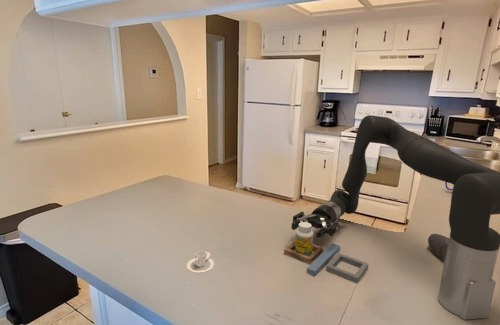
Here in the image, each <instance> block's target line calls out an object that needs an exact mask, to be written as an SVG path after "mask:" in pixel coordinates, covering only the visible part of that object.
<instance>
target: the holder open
mask: <svg viewBox="0 0 500 325" xmlns="http://www.w3.org/2000/svg"><path fill="white" fill-rule="evenodd" d="M340 261H342V262H344V263H347V264H350V265H352V266H355V267H357V268H359V269H358V270H357V272H355V273H353V272H349V271H348V270H344V269H342V268H340V267H337V265H338V264H339V263H340ZM368 268H369V262H366V261H362V260H360V259H357V258H354V257H351V256H349V255H346V254H343V253H340V252H338V253H337V254H336V255H335V256H334V257H333V258H332V259H331V260H330V261H329V262H328V263H327V264H326V265H325V271H326V272H329V273H331V274H333V275H336V276H339V277H341V278H344V279H347V281H352V282H353V283H355V284H358V283H359V282H360V280H361V279H362V277H364V275H365V273H366V272H367V270H368Z"/></svg>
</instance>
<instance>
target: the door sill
mask: <svg viewBox="0 0 500 325" xmlns="http://www.w3.org/2000/svg"><path fill="white" fill-rule="evenodd" d="M340 250H341V245H340V244H339V245H338V244H336V243H331V244H330V246H329V247H327V249H325V250H323V252H322V253H321V254H320V255H319V256H318V257H317V258H316V259H315V260H314V261H313V262H312V263H310V264H309V266H308V267H307V268H306V274H309V275H311V276H314V277H315V276H317V275H318V273H320V272H321V270H322V269H323V268H324V267H326V266H327V265H328V264H329V263H330V262H331V261H332V260H333V259H334V258H335V256H336V255H337V254H338V253H340Z"/></svg>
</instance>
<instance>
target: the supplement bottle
mask: <svg viewBox="0 0 500 325" xmlns="http://www.w3.org/2000/svg"><path fill="white" fill-rule="evenodd" d="M312 228H313V227H312V225H311V224H310V223H307V221H306V222H303V221H300V223H299V227H298V228H297V229H296V233H295V241H296V245H295V249H294V251H295V252H298V253H301V254H303V255H306V256H309V255H311V254H312V253H313V251H314V250H313V244H314V231H313V230H312Z"/></svg>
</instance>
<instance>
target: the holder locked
mask: <svg viewBox="0 0 500 325" xmlns="http://www.w3.org/2000/svg"><path fill="white" fill-rule="evenodd" d="M295 245H296V240H295V241H293V242H292V243H291V244H289V245H288V246H287V247H285V248H284V250H283V254H284V255H286V256H289V257H292V258H294V259H295V260H298V261H301V262H304V263H306V264H308V265H311V264H312V263H313V262H314V261H315V260H316V259H317V258H318V257H319V256H320V255H321V254H322V253H323V252H324V247H323V246H321V245H317V244H315V243H313V250H312V254H311V255H309V256H306V255H303V254H301V253H298V252H295Z"/></svg>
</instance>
